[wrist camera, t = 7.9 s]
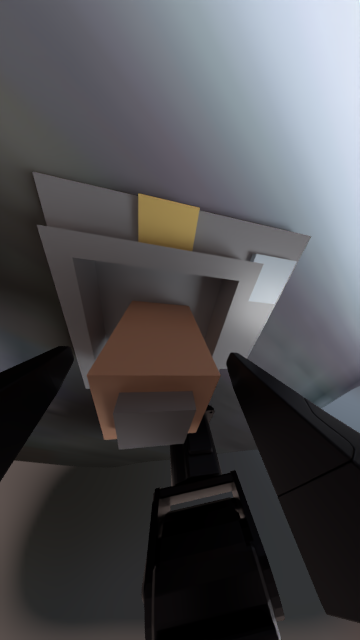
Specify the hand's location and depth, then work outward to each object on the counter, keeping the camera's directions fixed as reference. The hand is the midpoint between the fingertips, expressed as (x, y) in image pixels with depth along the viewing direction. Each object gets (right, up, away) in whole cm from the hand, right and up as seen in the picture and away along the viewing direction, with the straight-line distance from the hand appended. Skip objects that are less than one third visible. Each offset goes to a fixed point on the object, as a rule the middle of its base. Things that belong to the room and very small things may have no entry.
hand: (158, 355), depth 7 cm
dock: (+1, +3, +3) cm, 5 cm away
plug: (0, +1, +3) cm, 3 cm away
